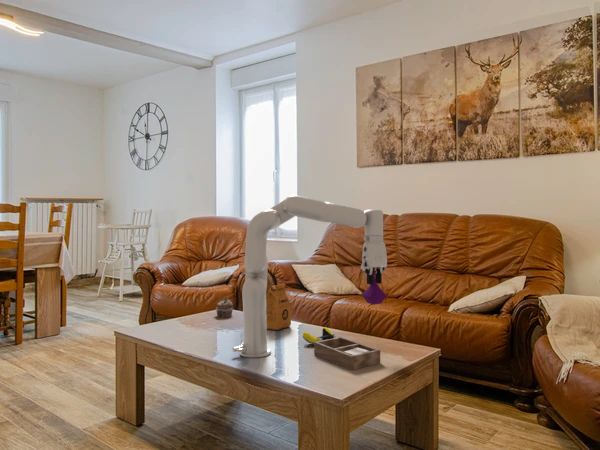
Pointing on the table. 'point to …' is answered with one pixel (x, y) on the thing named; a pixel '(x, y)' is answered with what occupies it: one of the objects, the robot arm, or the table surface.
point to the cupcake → (224, 308)
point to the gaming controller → (326, 335)
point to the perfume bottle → (374, 292)
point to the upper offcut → (356, 351)
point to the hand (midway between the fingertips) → (374, 283)
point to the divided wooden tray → (336, 354)
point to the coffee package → (277, 308)
